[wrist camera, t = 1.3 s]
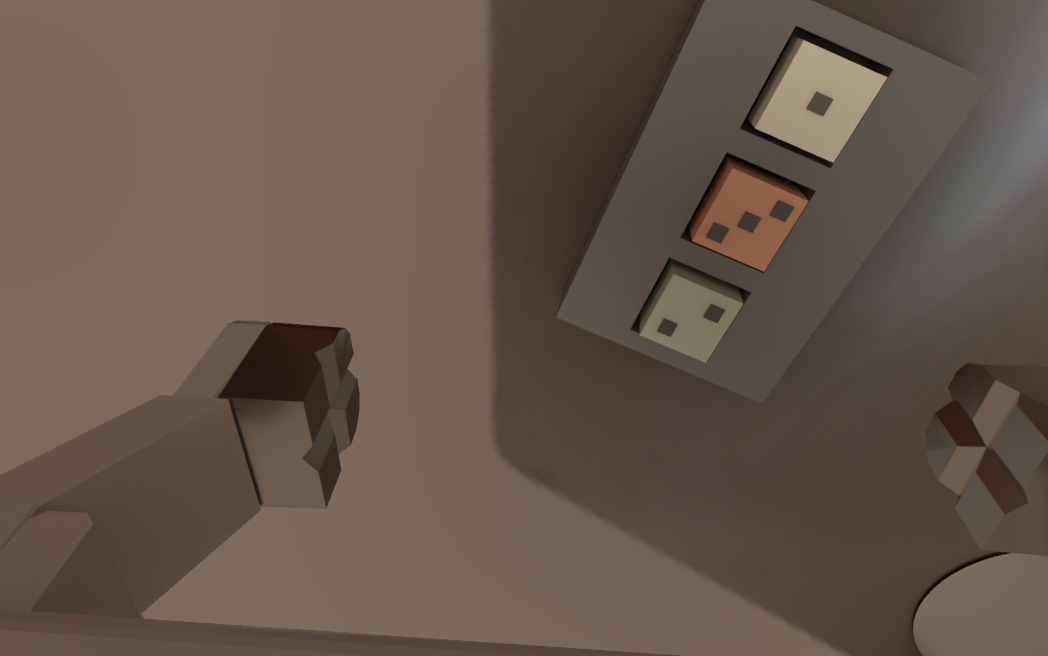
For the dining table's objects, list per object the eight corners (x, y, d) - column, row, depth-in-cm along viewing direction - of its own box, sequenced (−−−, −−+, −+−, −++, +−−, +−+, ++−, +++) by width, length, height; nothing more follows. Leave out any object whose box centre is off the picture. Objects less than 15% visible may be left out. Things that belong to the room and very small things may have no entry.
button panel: (964, 73, 31) (993, 82, 29) (754, 376, 40) (762, 403, 38) (716, -38, 31) (723, -40, 28) (561, 295, 40) (555, 317, 37)
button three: (798, 187, 33) (809, 202, 31) (756, 254, 35) (764, 273, 33) (726, 156, 33) (733, 169, 31) (688, 225, 35) (692, 242, 33)
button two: (737, 285, 36) (744, 305, 34) (702, 342, 38) (706, 364, 36) (671, 257, 36) (673, 275, 34) (639, 315, 38) (639, 336, 36)
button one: (870, 70, 30) (889, 78, 28) (820, 150, 32) (834, 163, 30) (792, 35, 30) (804, 40, 28) (747, 118, 32) (755, 129, 30)
